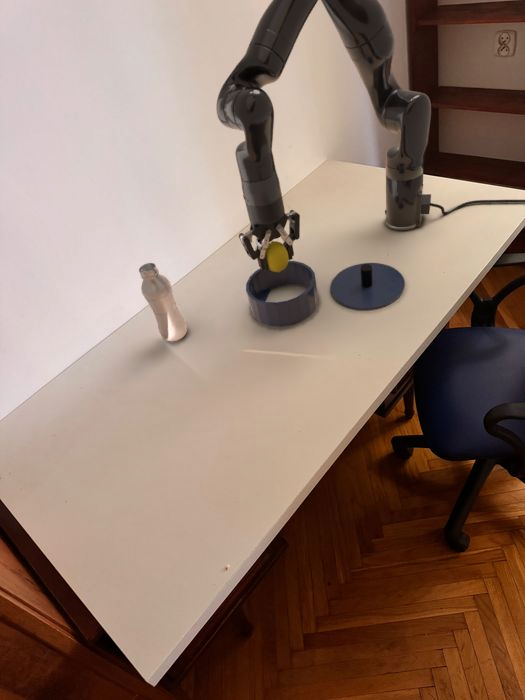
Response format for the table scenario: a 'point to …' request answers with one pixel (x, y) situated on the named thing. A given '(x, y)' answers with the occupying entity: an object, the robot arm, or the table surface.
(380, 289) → the pot lid
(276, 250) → the lemon
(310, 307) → the pot
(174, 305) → the plastic bottle
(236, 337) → the table surface
